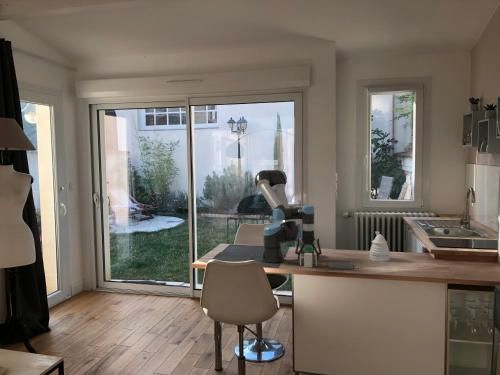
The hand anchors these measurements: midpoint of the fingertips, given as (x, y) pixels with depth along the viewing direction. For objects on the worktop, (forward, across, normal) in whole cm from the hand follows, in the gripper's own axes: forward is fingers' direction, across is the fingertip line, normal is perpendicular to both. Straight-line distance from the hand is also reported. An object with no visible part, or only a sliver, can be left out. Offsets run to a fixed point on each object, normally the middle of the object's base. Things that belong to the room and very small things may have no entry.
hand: (308, 265), depth 267 cm
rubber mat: (0, +20, 0) cm, 20 cm away
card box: (0, 0, 0) cm, 0 cm away
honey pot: (0, +47, +22) cm, 52 cm away
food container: (0, 0, +25) cm, 25 cm away
